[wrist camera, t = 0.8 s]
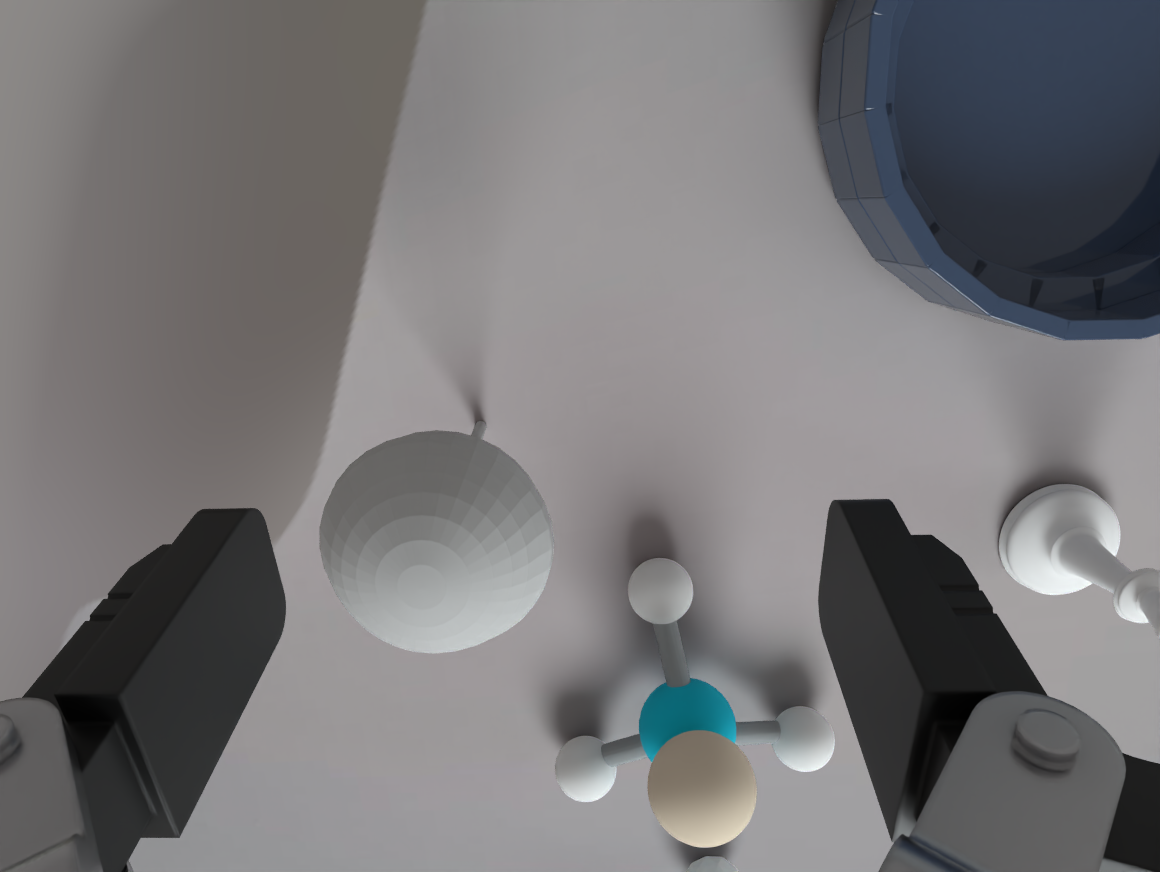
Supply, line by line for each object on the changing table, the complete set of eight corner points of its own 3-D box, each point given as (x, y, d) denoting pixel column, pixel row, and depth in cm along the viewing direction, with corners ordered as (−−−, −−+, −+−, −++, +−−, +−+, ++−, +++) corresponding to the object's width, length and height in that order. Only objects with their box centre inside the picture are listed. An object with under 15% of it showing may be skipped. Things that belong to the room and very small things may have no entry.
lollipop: (578, 388, 33) (592, 524, 19) (525, 515, 35) (500, 732, 20) (433, 331, 33) (332, 427, 18) (385, 463, 34) (256, 650, 20)
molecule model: (591, 824, 39) (600, 994, 31) (483, 616, 36) (460, 741, 28) (831, 731, 38) (909, 881, 30) (740, 510, 35) (798, 606, 27)
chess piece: (983, 512, 35) (1143, 626, 26) (1094, 464, 35) (1299, 562, 25) (1017, 607, 37) (1181, 749, 27) (1125, 562, 36) (1330, 691, 26)
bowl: (719, 143, 31) (753, 130, 26) (1039, -307, 28) (1153, -429, 22) (1052, 402, 34) (1143, 437, 29) (1378, 25, 31) (1549, -13, 25)
